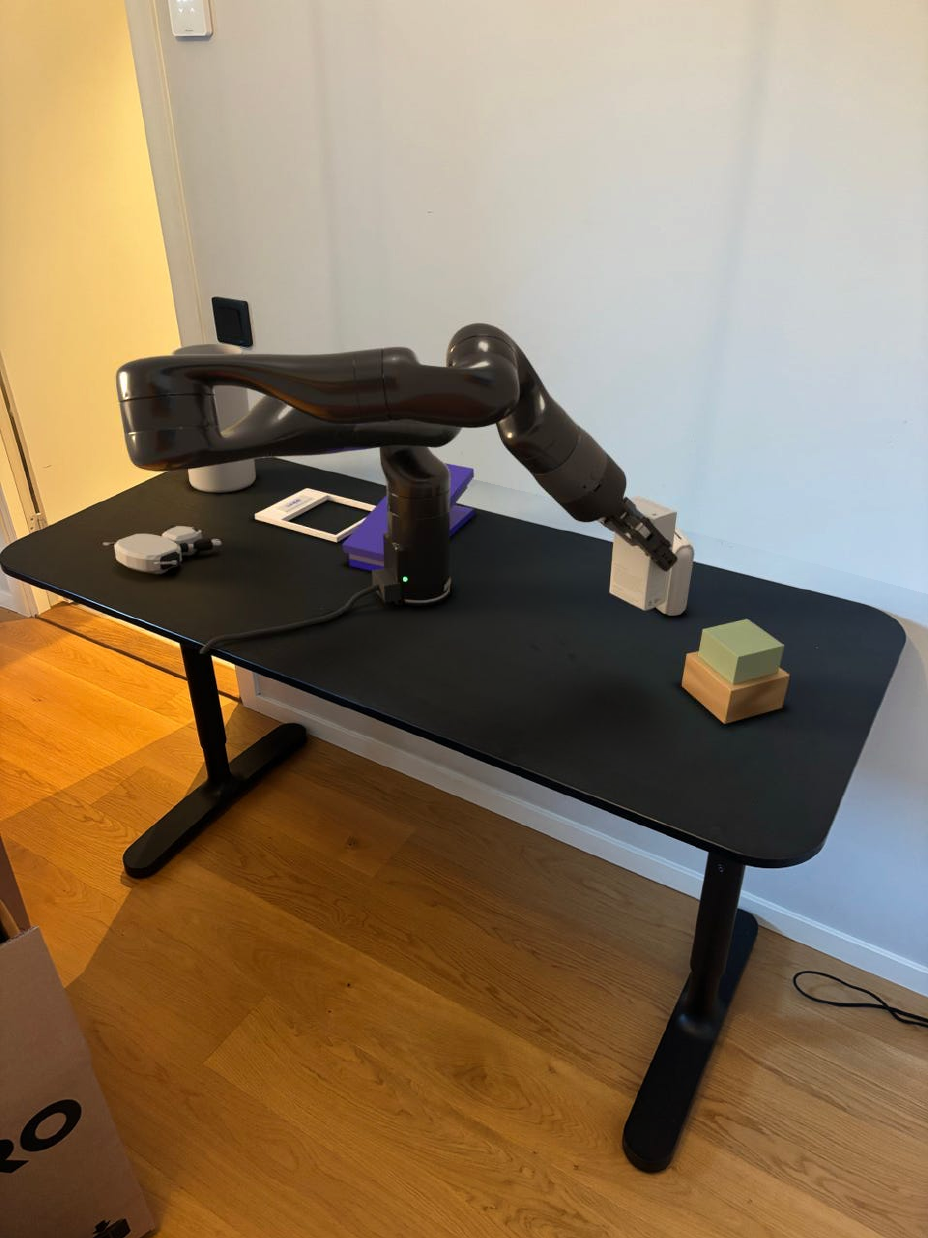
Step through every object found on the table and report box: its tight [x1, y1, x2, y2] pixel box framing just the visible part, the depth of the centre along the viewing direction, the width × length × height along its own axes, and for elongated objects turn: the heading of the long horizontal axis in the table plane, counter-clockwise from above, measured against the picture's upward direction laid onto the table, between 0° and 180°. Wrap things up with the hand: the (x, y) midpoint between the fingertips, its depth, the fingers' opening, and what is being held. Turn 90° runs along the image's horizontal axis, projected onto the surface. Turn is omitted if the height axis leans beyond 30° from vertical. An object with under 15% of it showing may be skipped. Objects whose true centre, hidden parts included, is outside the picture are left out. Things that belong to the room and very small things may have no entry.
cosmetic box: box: [609, 495, 678, 612], centre depth 108 cm, size 6×4×12 cm
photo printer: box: [655, 526, 695, 616], centre depth 135 cm, size 10×4×12 cm, turn 20°
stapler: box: [342, 462, 475, 572], centre depth 153 cm, size 12×28×10 cm, turn 156°
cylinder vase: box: [171, 343, 257, 494], centre depth 170 cm, size 12×12×25 cm
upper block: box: [698, 618, 785, 684], centre depth 113 cm, size 7×7×4 cm
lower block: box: [681, 650, 791, 725], centre depth 115 cm, size 9×9×5 cm
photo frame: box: [254, 487, 377, 543], centre depth 163 cm, size 15×1×18 cm
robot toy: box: [102, 524, 222, 575], centre depth 146 cm, size 12×4×15 cm
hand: (652, 551), depth 109 cm, fingers closed on cosmetic box, 6 cm apart
